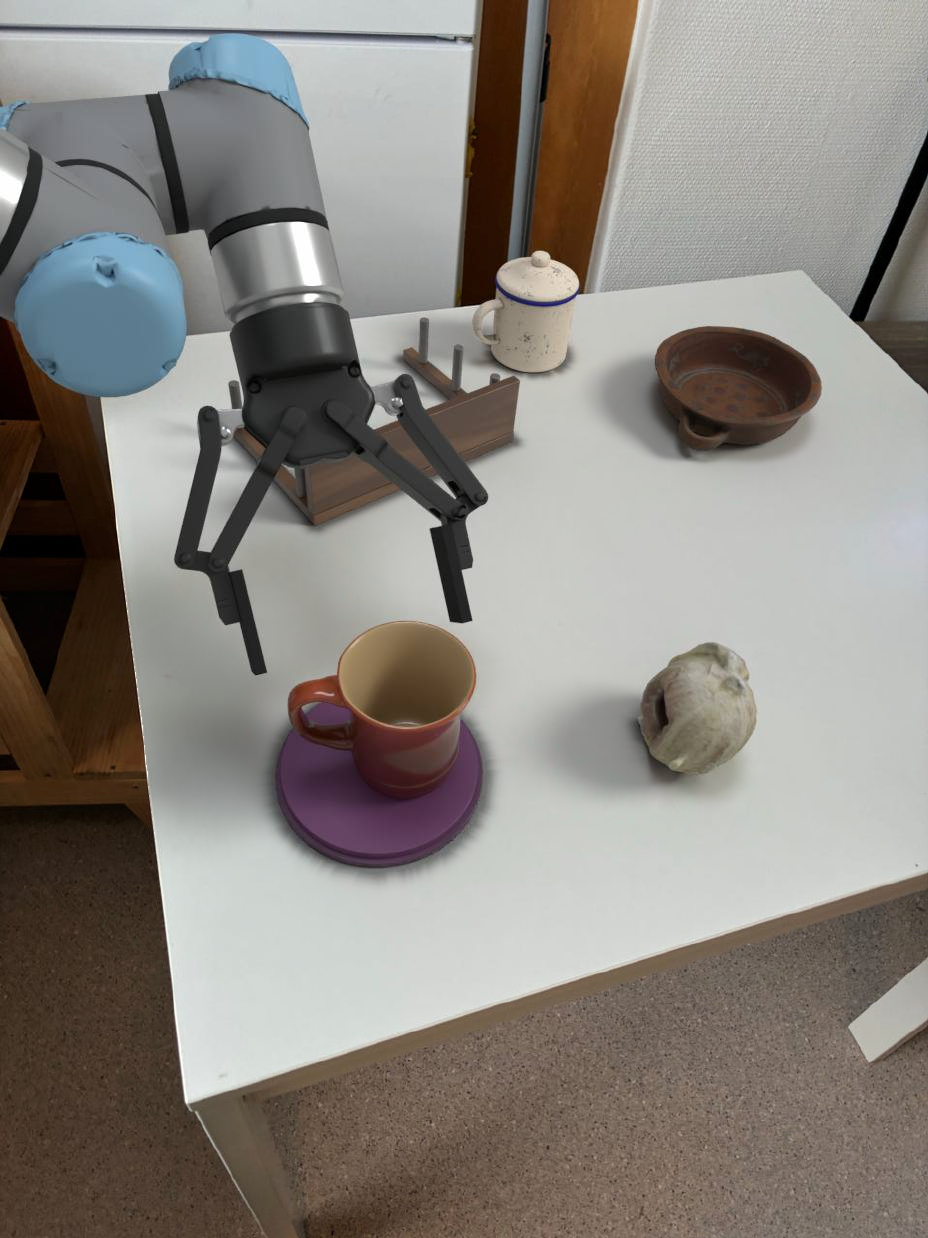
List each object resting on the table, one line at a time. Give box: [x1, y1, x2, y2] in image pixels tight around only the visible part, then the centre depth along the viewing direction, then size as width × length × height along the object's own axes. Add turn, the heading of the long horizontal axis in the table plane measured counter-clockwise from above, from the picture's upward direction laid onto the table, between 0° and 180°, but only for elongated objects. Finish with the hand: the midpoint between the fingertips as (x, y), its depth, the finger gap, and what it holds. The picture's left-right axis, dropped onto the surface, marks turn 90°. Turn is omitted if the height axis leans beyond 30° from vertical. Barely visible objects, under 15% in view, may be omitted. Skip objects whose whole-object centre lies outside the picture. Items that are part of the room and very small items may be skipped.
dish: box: [654, 325, 823, 452], centre depth 96 cm, size 17×22×5 cm
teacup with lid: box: [471, 250, 581, 373], centre depth 98 cm, size 12×9×12 cm
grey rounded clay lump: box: [637, 641, 758, 777], centre depth 65 cm, size 9×8×10 cm
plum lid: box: [274, 702, 484, 868], centre depth 65 cm, size 15×15×1 cm
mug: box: [287, 620, 477, 799], centre depth 60 cm, size 12×9×10 cm
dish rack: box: [227, 317, 521, 526], centre depth 88 cm, size 18×23×7 cm
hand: (363, 646), depth 58 cm, fingers open, 13 cm apart
